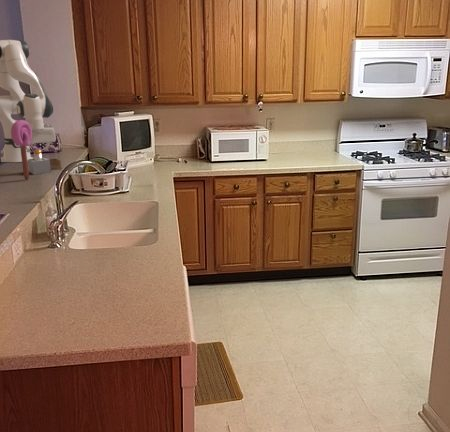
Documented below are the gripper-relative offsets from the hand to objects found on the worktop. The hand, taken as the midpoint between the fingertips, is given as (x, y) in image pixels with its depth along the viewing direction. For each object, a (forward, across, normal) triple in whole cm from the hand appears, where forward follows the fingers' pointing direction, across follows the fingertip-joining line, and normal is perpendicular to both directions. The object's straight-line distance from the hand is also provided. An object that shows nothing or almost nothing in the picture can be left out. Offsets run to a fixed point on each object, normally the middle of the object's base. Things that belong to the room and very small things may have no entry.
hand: (37, 151), depth 265 cm
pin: (+11, 0, 0) cm, 11 cm away
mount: (+12, -9, -6) cm, 16 cm away
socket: (+11, 0, 0) cm, 11 cm away
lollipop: (+11, +11, +16) cm, 23 cm away
